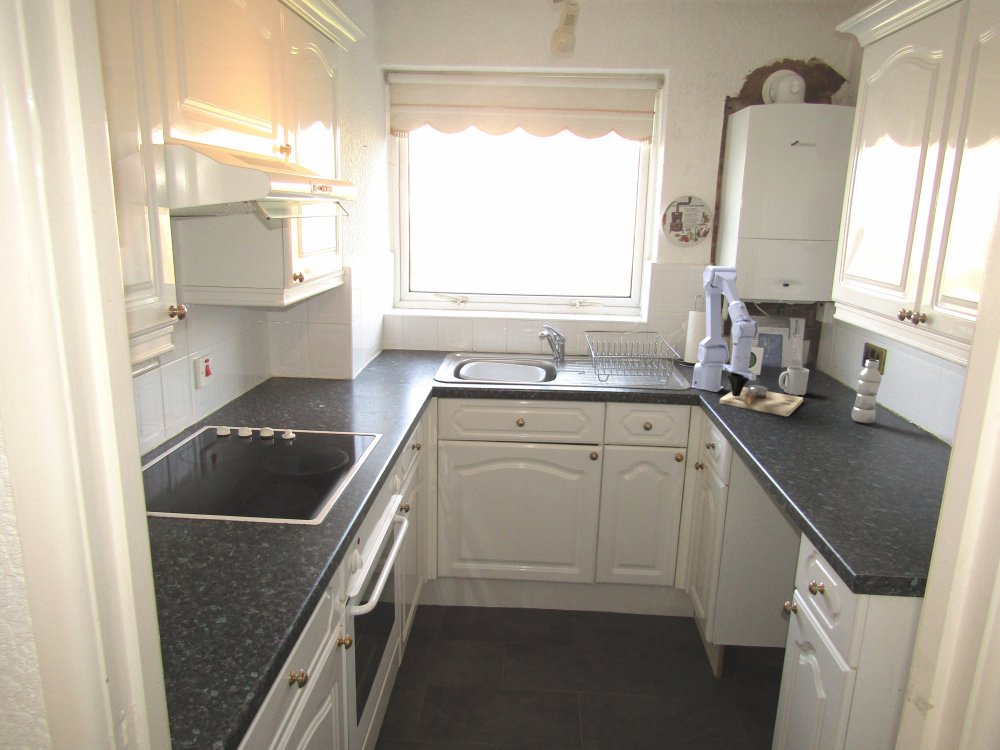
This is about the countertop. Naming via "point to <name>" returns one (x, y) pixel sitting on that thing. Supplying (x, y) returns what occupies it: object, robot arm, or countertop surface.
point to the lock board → (765, 402)
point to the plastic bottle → (867, 392)
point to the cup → (794, 380)
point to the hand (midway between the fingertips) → (736, 395)
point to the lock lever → (755, 393)
